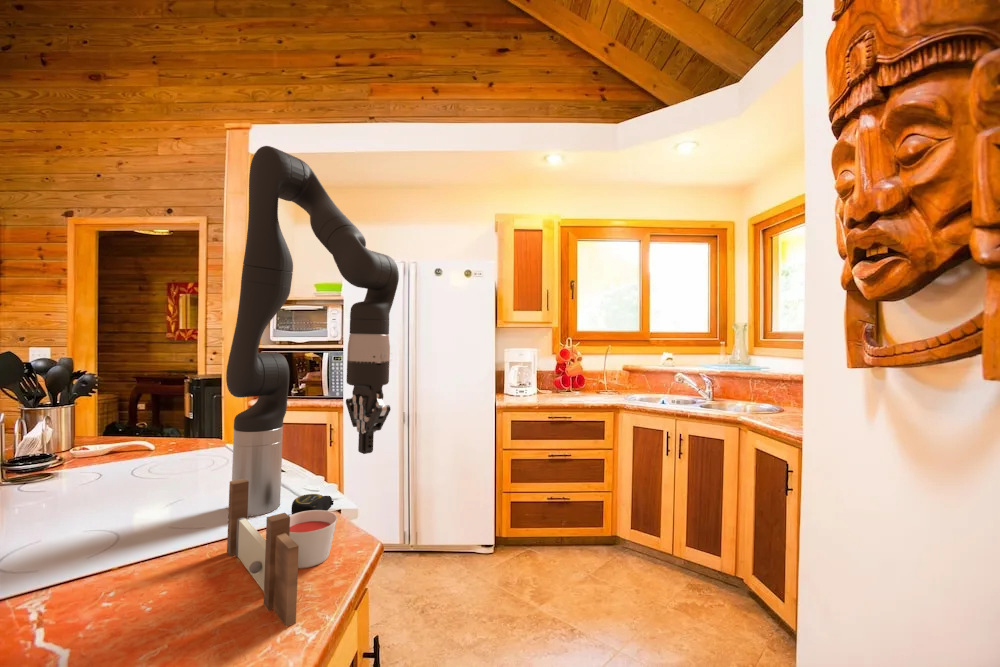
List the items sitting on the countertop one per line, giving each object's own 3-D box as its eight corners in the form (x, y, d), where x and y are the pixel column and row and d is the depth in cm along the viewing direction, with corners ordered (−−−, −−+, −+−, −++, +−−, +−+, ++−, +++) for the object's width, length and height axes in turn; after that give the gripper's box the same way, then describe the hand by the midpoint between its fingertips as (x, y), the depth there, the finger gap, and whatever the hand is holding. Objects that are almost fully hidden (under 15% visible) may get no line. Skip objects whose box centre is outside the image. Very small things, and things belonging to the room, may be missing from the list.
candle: (277, 578, 66) (279, 537, 66) (276, 552, 74) (277, 515, 74) (339, 565, 70) (341, 526, 71) (332, 541, 78) (333, 506, 78)
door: (225, 557, 71) (226, 520, 71) (242, 552, 73) (244, 515, 73) (253, 599, 60) (255, 554, 60) (273, 592, 62) (275, 548, 62)
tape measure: (315, 525, 85) (316, 506, 85) (283, 522, 86) (284, 503, 86) (333, 511, 92) (334, 494, 92) (303, 508, 93) (304, 491, 93)
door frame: (226, 551, 73) (229, 481, 74) (242, 547, 75) (245, 478, 75) (281, 629, 55) (284, 534, 55) (300, 620, 56) (303, 528, 57)
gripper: (333, 357, 82) (330, 448, 81) (367, 361, 72) (364, 464, 72) (369, 357, 87) (366, 442, 87) (405, 360, 78) (402, 456, 77)
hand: (365, 452), depth 79 cm, fingers closed
